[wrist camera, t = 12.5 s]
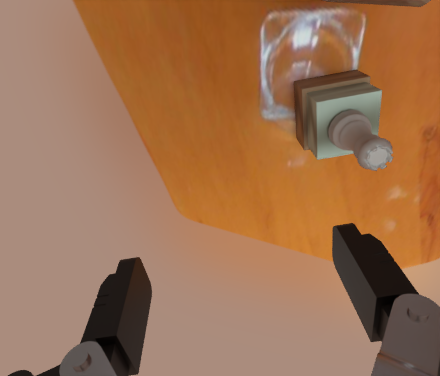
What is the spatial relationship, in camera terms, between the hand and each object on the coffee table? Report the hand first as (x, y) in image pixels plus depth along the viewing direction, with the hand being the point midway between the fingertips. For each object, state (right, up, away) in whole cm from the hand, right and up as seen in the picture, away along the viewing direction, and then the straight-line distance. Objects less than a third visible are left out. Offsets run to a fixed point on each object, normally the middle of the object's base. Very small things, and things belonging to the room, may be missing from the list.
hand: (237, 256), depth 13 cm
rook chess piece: (+14, +10, +23) cm, 29 cm away
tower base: (+13, +14, +30) cm, 36 cm away
